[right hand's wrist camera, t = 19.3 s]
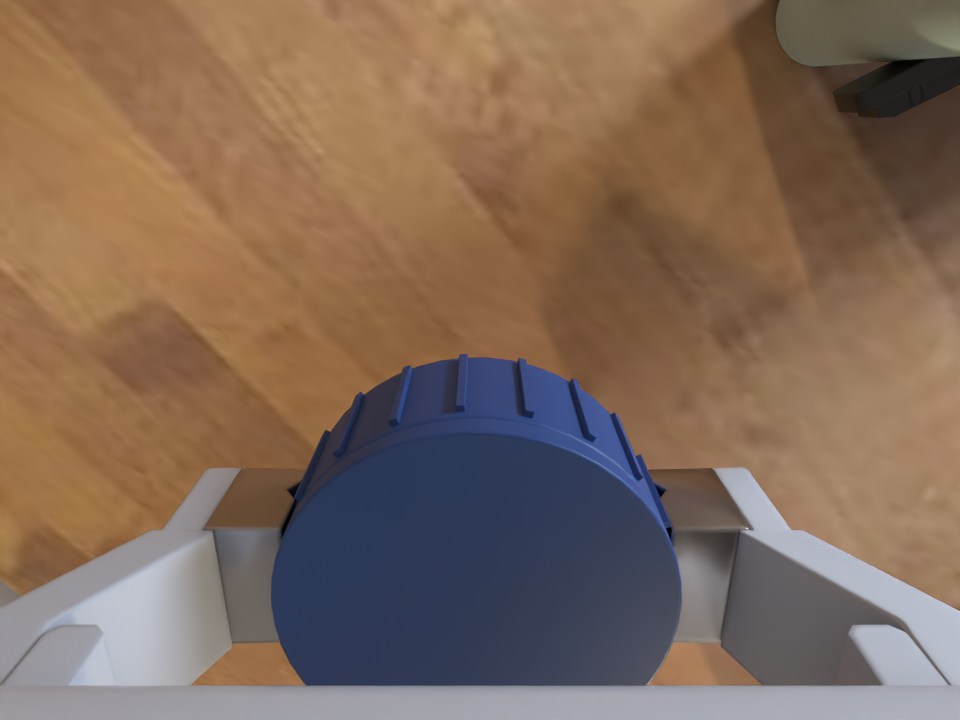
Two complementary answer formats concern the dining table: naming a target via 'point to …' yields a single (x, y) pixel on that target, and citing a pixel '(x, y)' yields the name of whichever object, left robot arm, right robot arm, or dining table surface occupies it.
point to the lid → (476, 539)
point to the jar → (867, 30)
